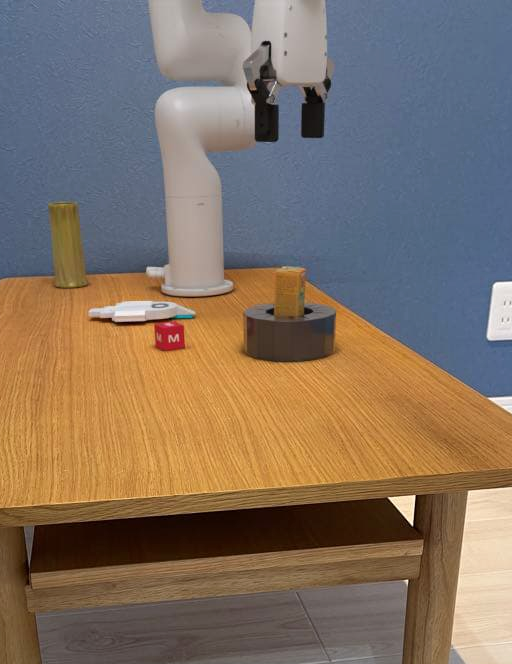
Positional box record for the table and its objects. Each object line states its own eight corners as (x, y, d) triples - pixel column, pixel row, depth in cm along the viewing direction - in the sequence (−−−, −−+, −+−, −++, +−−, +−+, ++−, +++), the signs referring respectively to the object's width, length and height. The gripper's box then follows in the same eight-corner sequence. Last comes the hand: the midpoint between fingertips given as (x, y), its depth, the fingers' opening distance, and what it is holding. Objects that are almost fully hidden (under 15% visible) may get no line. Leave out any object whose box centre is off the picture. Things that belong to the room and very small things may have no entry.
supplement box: (298, 352, 109) (299, 270, 104) (272, 350, 110) (272, 270, 105) (305, 345, 111) (306, 266, 107) (279, 344, 112) (279, 265, 108)
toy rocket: (84, 326, 126) (83, 311, 125) (96, 313, 135) (94, 298, 134) (192, 324, 125) (192, 308, 124) (197, 311, 134) (196, 296, 133)
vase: (95, 283, 159) (87, 201, 152) (72, 289, 154) (63, 205, 148) (70, 281, 162) (61, 201, 155) (47, 286, 157) (38, 204, 151)
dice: (185, 348, 113) (183, 325, 112) (164, 351, 112) (162, 328, 110) (176, 343, 115) (174, 321, 114) (155, 346, 114) (154, 323, 113)
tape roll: (236, 360, 106) (235, 320, 104) (253, 338, 117) (252, 301, 114) (329, 363, 104) (330, 321, 102) (338, 340, 114) (339, 302, 112)
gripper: (308, -16, 106) (305, 136, 114) (219, -27, 95) (222, 142, 103) (360, -21, 102) (352, 136, 110) (273, -34, 90) (272, 144, 98)
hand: (290, 139), depth 106 cm, fingers open, 9 cm apart
